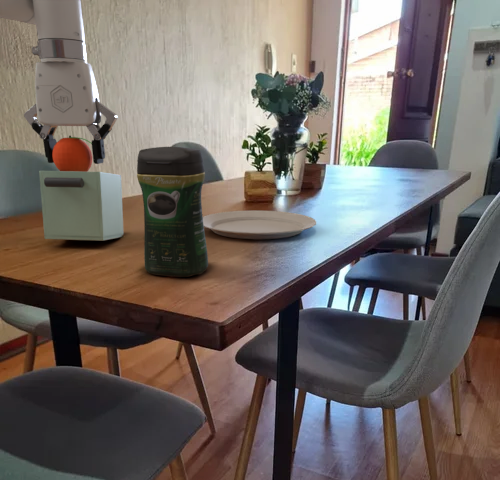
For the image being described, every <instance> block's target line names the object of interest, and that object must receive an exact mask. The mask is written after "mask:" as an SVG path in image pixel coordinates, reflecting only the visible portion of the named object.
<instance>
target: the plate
mask: <svg viewBox="0 0 500 480" xmlns="http://www.w3.org/2000/svg"><path fill="white" fill-rule="evenodd" d="M202 216H203V215H202ZM203 225H204V228H206V229H210V230H211V231H212V232H213V233H214V234H216V235H219V236H223V237H227V238H233V239H242V240H276V239H286V238H291V237H294V236H297V235H300V234H301V233H302V232H303V231H305V230H308V229H311V228H313V227H315V226H316V225H317V220H316V219H315V218H313V217H311V216H308V215H304V214H301V213H295V212H288V211H279V210H261V209H260V210H258V209H257V210H251V209H250V210H249V209H248V210H231V211H222V212H216V213H215V212H214V213H210V214H207V215H204V216H203Z"/></svg>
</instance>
